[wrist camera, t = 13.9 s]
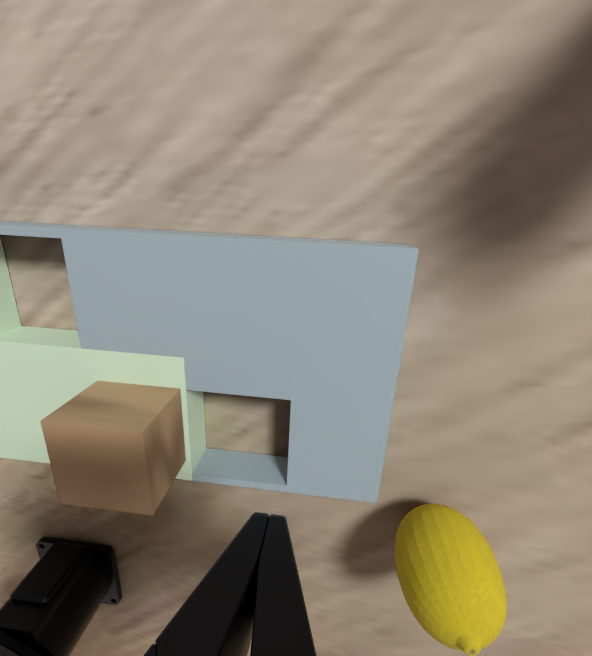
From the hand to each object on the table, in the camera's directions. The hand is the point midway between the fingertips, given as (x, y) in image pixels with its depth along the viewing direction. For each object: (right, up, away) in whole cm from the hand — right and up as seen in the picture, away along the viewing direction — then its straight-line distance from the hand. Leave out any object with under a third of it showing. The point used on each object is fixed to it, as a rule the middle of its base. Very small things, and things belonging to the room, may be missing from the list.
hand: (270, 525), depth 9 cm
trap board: (-7, +4, +12) cm, 14 cm away
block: (-9, 0, +11) cm, 14 cm away
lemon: (+10, -7, +14) cm, 19 cm away
